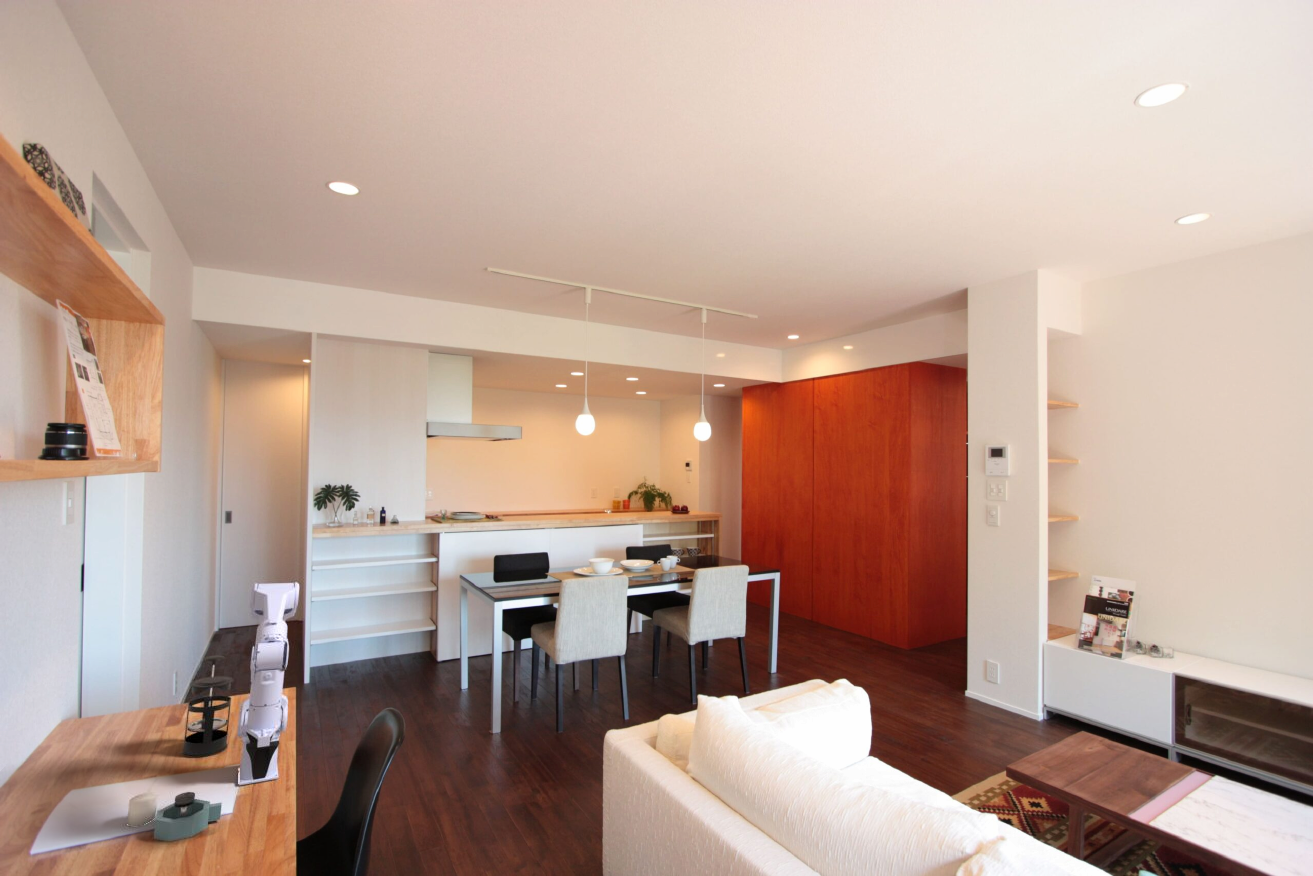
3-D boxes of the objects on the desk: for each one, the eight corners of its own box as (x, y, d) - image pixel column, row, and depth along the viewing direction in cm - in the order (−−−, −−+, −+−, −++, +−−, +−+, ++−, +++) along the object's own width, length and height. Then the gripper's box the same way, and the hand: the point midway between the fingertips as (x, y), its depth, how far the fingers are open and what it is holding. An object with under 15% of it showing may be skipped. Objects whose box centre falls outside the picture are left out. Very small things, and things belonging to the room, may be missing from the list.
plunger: (167, 824, 125) (170, 793, 126) (198, 818, 128) (201, 787, 128) (164, 836, 121) (167, 804, 122) (196, 830, 124) (199, 798, 124)
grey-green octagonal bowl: (157, 824, 126) (159, 805, 126) (220, 811, 131) (222, 794, 132) (151, 845, 119) (154, 825, 119) (219, 831, 124) (221, 812, 125)
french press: (228, 753, 158) (238, 659, 160) (182, 762, 152) (192, 664, 154) (225, 737, 167) (234, 648, 169) (181, 745, 162) (191, 652, 164)
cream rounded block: (128, 818, 127) (131, 795, 128) (156, 813, 130) (158, 791, 130) (125, 829, 124) (127, 805, 124) (153, 823, 126) (156, 800, 126)
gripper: (242, 694, 134) (235, 760, 133) (242, 716, 122) (234, 790, 121) (280, 689, 138) (274, 754, 137) (284, 711, 126) (277, 782, 125)
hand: (258, 770), depth 129 cm, fingers open, 7 cm apart
